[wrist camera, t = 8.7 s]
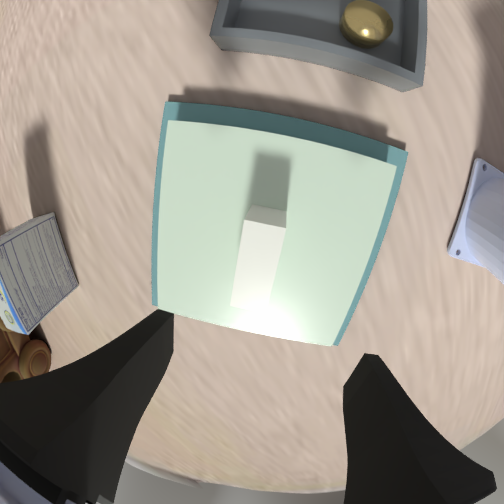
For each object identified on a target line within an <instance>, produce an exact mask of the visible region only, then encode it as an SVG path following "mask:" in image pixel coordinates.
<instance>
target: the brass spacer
mask: <svg viewBox="0 0 504 504" xmlns="http://www.w3.org/2000/svg"><path fill="white" fill-rule="evenodd" d="M339 28H340V31H341V33H342V35H343V36H344V38H345V39H346V40H347V41H348V42H350V43H351V44H353V45H355V46H357V47H360V48H364V49H372V48H375V47H377V46H379V45H380V44H381V43H382V42H383V41H384V40H385V39H387V38H388V37H389V36H390V35H391V33H392V32H393V21H392V19H391V17H390V15H389V14H388V13H387V11H386V10H384V9H383V8H382V7H381V6H379V5H378V4H376V3H373V2H371V1H367V0H355V1H353V2H351V3H349V4H348V5H347V7H346V8H345V11H344V13H343V15H342V17H341V19H340V22H339Z"/></svg>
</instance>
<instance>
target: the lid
mask: <svg viewBox="0 0 504 504" xmlns="http://www.w3.org/2000/svg"><path fill="white" fill-rule="evenodd" d="M396 168H397V166H395V165H392V164H389V163H386V162H383V161H380V160H377V159H374V158H371V157H367V156H364V155H361V154H358V153H354V152H351V151H347V150H344V149H340V148H336V147H332V146H329V145H325V144H321V143H317V142H312V141H308V140H304V139H299V138H295V137H290V136H285V135H280V134H275V133H269V132H264V131H258V130H252V129H246V128H239V127H232V126H224V125H216V124H207V123H198V122H186V121H173V120H168V124H167V132H166V139H165V148H164V156H163V166H162V177H161V189H160V203H159V221H158V252H157V292H158V309H161V310H164V311H167V312H171V313H174V314H177V315H181V316H185V317H189V318H192V319H196V320H200V321H204V322H208V323H212V324H217V325H221V326H225V327H230V328H234V329H238V330H243V331H248V332H252V333H257V334H262V335H267V336H272V337H278V338H283V339H289V340H294V341H300V342H306V343H312V344H319V345H325V346H332V345H333V343H334V341H335V339H336V337H337V335H338V333H339V330H340V328H341V326H342V324H343V322H344V319H345V317H346V315H347V313H348V310H349V308H350V306H351V303H352V301H353V298H354V296H355V294H356V291H357V289H358V286H359V284H360V281H361V278H362V276H363V273H364V271H365V268H366V265H367V263H368V260H369V257H370V254H371V252H372V249H373V246H374V243H375V240H376V237H377V234H378V231H379V228H380V225H381V222H382V218H383V215H384V212H385V208H386V205H387V202H388V198H389V195H390V191H391V187H392V184H393V180H394V176H395V172H396Z"/></svg>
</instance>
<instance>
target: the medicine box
mask: <svg viewBox="0 0 504 504" xmlns="http://www.w3.org/2000/svg"><path fill="white" fill-rule="evenodd" d="M78 286H79V285H78V282H77V280H76V278H75V275H74V272H73V270H72V267H71V264H70V262H69V259H68V256H67V253H66V250H65V247H64V244H63V241H62V238H61V235H60V232H59V228H58V225H57V222H56V218H55V213H54V212H52V213H49V214H45V215H42V216H39V217H36V218H33V219H30V220H28V221H26V222H25V223H23V224H21V225H19V226H17V227H15V228H14V229H12V230H10V231H8V232H6V233H5V234H3V235H1V236H0V317H1V319H2V320H3V322H4V324H5V326H6V328H8V329H10V330H12V331H15V332H18V333H22V334H26V335H29V334H30V332H31V331H32V330H33V329H34V328H35V327H36V326H37V325H38V324H39V323H40V322H41V321H42V320H43V319H44V318H45V317H46V316H47V315H48V314H49V313H50V312H51V311H52V310H53V309H54V308H56V307H57V306H58V305H59V304H60V303H61V302H62V301H63V300H64V299H65V298H66V297H67V296H68V295H69V294H70V293H72V292H73V291H74V290H75V289H76V288H77V287H78Z"/></svg>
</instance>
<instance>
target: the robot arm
mask: <svg viewBox="0 0 504 504" xmlns="http://www.w3.org/2000/svg"><path fill="white" fill-rule="evenodd" d="M483 165H484V169H483ZM457 250H458V252H457V253H456V251H457ZM447 252H448V254H449V255H450V256H451V257H454V258H457V259H461V260H464V261H467V262H470V263H473V264H476V265H479V266H482V267H485V268H486V269H488V270H489V271H490V272H491V273H492V274H493V275H494V276H495V277H496V278H497V279H498V280H499V281H500V282H501V283H502V284H504V173H503V172H501V171H500V170H498V169H497V168H495V167H494V166H492V165H491V164H489V163H487V162H486V161H484V160H483V159H480V158H476V159H475V161H474V164H473V168H472V173H471V177H470V181H469V185H468V188H467V192H466V196H465V199H464V203H463V206H462V209H461V212H460V215H459V218H458V221H457V224H456V227H455V230H454V233H453V235H452V238H451V241H450V243H449V246H448V249H447ZM173 331H174V313H171V312H167V311H164V310H161V309H158V310H156V311H154V312H153V313H152V314H150V315H149V316H147V317H146V318H145V319H143V320H142V321H141V322H139V323H138V324H136V325H135V326H133V327H132V328H131V329H129V330H128V331H126V332H125V333H123V334H122V335H120V336H119V337H117V338H116V339H114V340H113V341H111V342H109V343H108V344H106V345H104V346H103V347H101V348H99V349H98V350H96V351H94V352H93V353H91V354H89V355H87V356H85V357H83V358H81V359H79V360H77V361H75V362H73V363H70V364H68V365H66V366H63V367H61V368H58V369H55V370H53V371H50V372H47V373H44V374H41V375H38V376H34V377H31V378H26V379H22V380H18V381H12V382H5V383H0V504H85V502H86V503H88V504H96V502H99V503H101V504H113V503H114V498H115V494H116V490H117V486H118V482H119V478H120V475H121V471H122V468H123V465H124V462H125V459H126V456H127V453H128V450H129V447H130V444H131V441H132V439H133V436H134V433H135V431H136V428H137V426H138V423H139V421H140V419H141V417H142V415H143V413H144V411H145V409H146V408H147V406H148V404H149V402H150V400H151V398H152V397H153V395H154V393H155V391H156V389H157V387H158V385H159V384H160V382H161V380H162V378H163V376H164V374H165V372H166V369H167V367H168V364H169V362H170V359H171V356H172V354H173ZM343 414H344V424H345V433H346V444H347V456H348V468H347V483H346V491H345V499H344V504H474V503H476V502H478V501H479V500H481V499H483V498H485V497H487V496H488V495H490V494H491V493H493V492H495V491H496V489H497V487H496V482H495V478H494V474H493V472H492V471H490V470H488V469H486V468H485V467H483V466H481V465H479V464H477V463H476V462H474V461H473V460H471V459H470V458H468V457H467V456H466V455H464V454H463V453H462V452H460V451H459V450H458V449H456V448H455V447H454V446H453V445H452V444H451V443H450V442H448V441H447V440H446V439H445V438H444V437H443V436H442V435H441V434H440V433H439V432H438V431H437V430H436V429H435V428H434V427H433V426H432V425H431V424H430V423H429V421H428V420H427V419H426V418H425V417H424V416H423V414H422V413H421V412H420V411H419V409H418V408H417V407H416V406H415V404H414V403H413V402H412V400H411V399H410V398H409V396H408V395H407V394H406V392H405V391H404V390H403V388H402V387H401V385H400V384H399V383H398V381H397V380H396V378H395V377H394V376H393V374H392V373H391V371H390V370H389V369H388V367H387V366H386V365H385V363H384V362H383V361H382V359H381V358H380V357H379V356H378V355H374V354H366V353H364V355H363V357H362V358H361V360H360V362H359V363H358V365H357V366H356V368H355V370H354V371H353V373H352V374H351V376H350V377H349V379H348V380H347V382H346V383H345V385H344V386H343Z"/></svg>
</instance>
